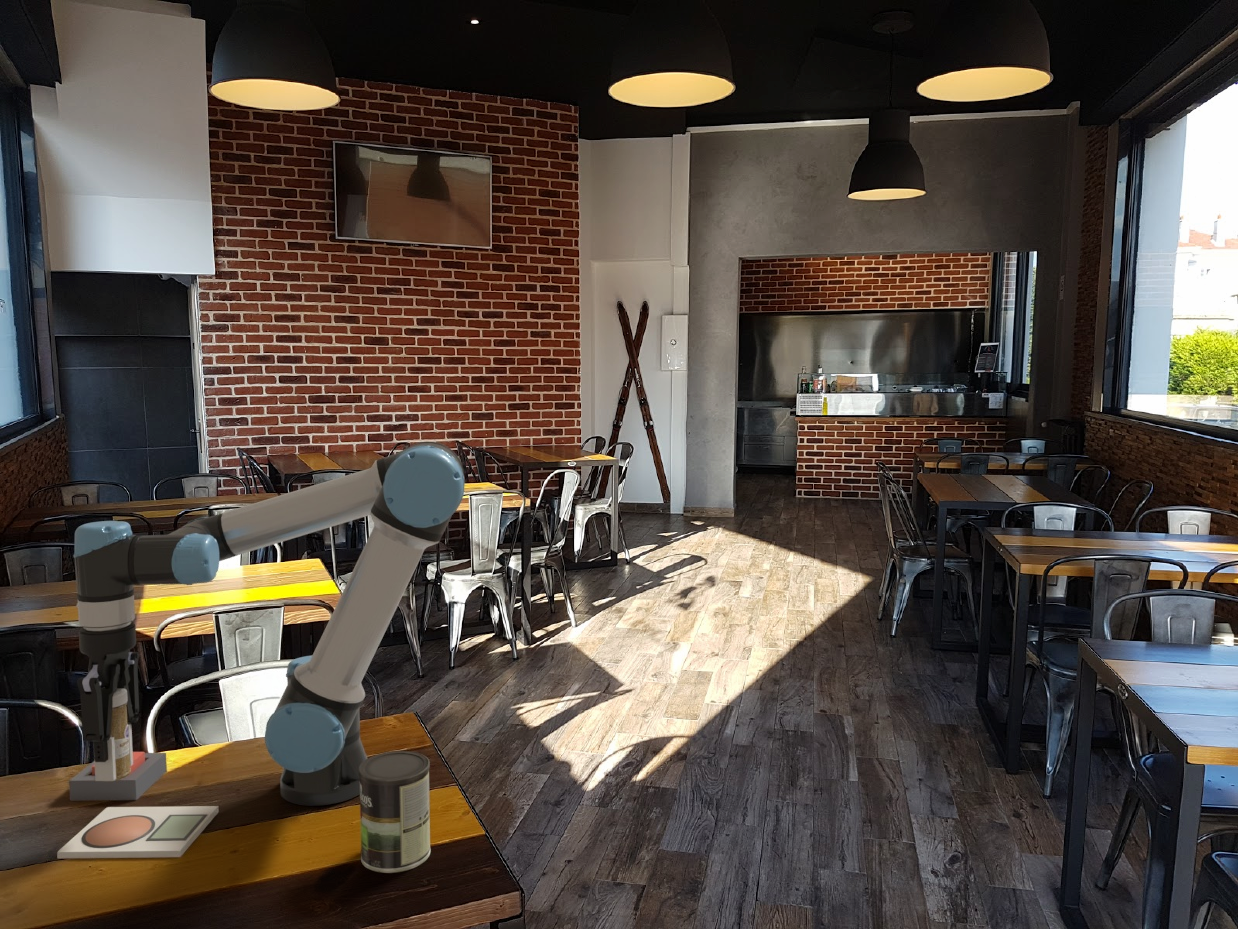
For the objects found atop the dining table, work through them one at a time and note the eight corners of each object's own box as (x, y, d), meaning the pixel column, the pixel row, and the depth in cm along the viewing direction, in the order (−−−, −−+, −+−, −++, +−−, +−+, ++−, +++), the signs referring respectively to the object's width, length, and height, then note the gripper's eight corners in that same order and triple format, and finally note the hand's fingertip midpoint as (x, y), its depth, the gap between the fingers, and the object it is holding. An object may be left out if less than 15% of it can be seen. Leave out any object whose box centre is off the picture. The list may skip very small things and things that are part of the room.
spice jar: (132, 778, 141) (128, 693, 139) (98, 785, 138) (94, 699, 137) (129, 767, 145) (125, 684, 143) (96, 774, 142) (91, 689, 141)
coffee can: (365, 880, 131) (362, 785, 129) (357, 845, 140) (354, 756, 139) (437, 865, 135) (435, 773, 133) (425, 832, 144) (423, 746, 143)
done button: (145, 768, 163) (144, 751, 163) (128, 783, 157) (127, 766, 157) (111, 768, 163) (110, 752, 162) (92, 783, 157) (91, 766, 157)
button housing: (166, 771, 166) (165, 752, 165) (136, 800, 155) (135, 780, 154) (105, 772, 165) (103, 753, 165) (70, 800, 154) (69, 780, 154)
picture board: (218, 812, 151) (218, 805, 151) (180, 857, 137) (179, 850, 137) (107, 813, 150) (107, 806, 150) (57, 858, 136) (57, 851, 136)
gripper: (112, 609, 147) (119, 749, 150) (47, 641, 130) (56, 799, 132) (159, 609, 148) (165, 749, 150) (101, 641, 130) (109, 798, 133)
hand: (114, 772), depth 141 cm, fingers closed on spice jar, 4 cm apart
